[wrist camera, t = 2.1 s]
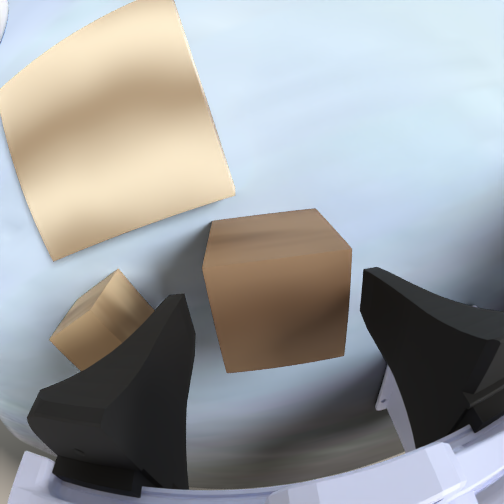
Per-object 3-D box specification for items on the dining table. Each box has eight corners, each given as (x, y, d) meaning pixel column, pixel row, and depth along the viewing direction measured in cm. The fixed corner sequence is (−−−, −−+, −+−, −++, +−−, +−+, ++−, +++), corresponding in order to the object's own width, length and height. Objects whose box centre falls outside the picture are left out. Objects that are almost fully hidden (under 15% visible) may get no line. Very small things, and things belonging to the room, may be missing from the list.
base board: (235, 188, 13) (235, 195, 12) (66, 249, 14) (53, 261, 13) (174, 0, 9) (167, -12, 8) (12, 92, 10) (-4, 92, 9)
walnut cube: (317, 294, 16) (344, 355, 12) (227, 306, 16) (226, 373, 12) (314, 207, 14) (352, 248, 10) (212, 220, 14) (202, 268, 9)
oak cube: (164, 319, 16) (149, 368, 13) (120, 343, 17) (101, 389, 13) (118, 267, 15) (90, 309, 11) (77, 298, 15) (48, 339, 12)
